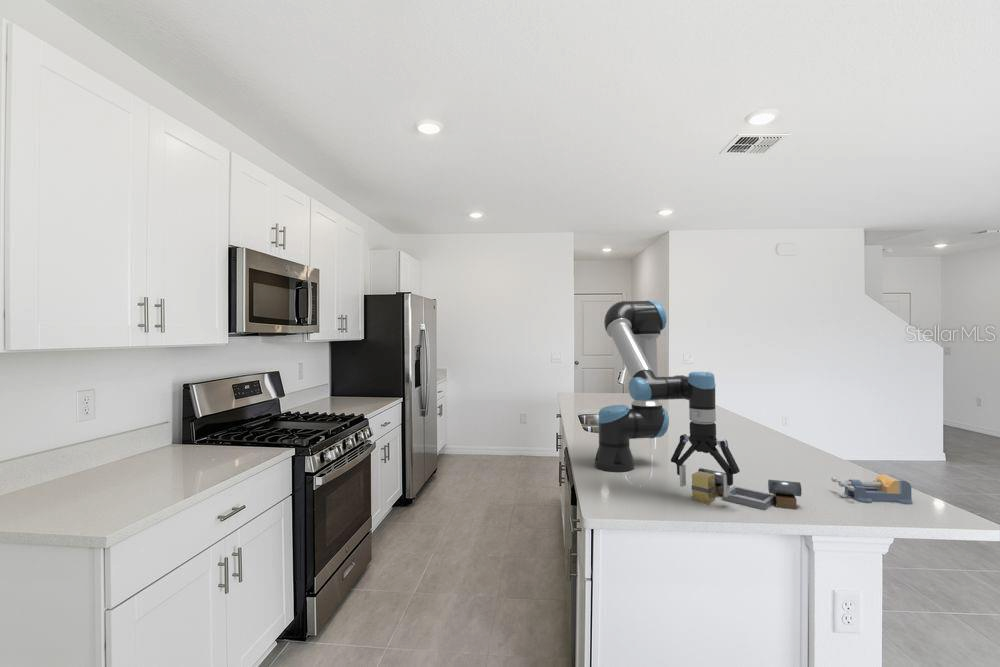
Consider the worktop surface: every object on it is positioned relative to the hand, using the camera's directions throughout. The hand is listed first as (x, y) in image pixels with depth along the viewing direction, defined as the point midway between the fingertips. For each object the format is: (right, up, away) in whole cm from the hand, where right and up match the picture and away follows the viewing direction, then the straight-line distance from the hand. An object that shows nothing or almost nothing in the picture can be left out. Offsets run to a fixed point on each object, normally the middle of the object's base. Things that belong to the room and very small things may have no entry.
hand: (704, 490), depth 143 cm
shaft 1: (+6, -3, +7) cm, 10 cm away
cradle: (+13, -3, -1) cm, 14 cm away
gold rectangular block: (0, -3, 0) cm, 3 cm away
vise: (+52, -3, 0) cm, 52 cm away
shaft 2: (+22, -3, -4) cm, 23 cm away
